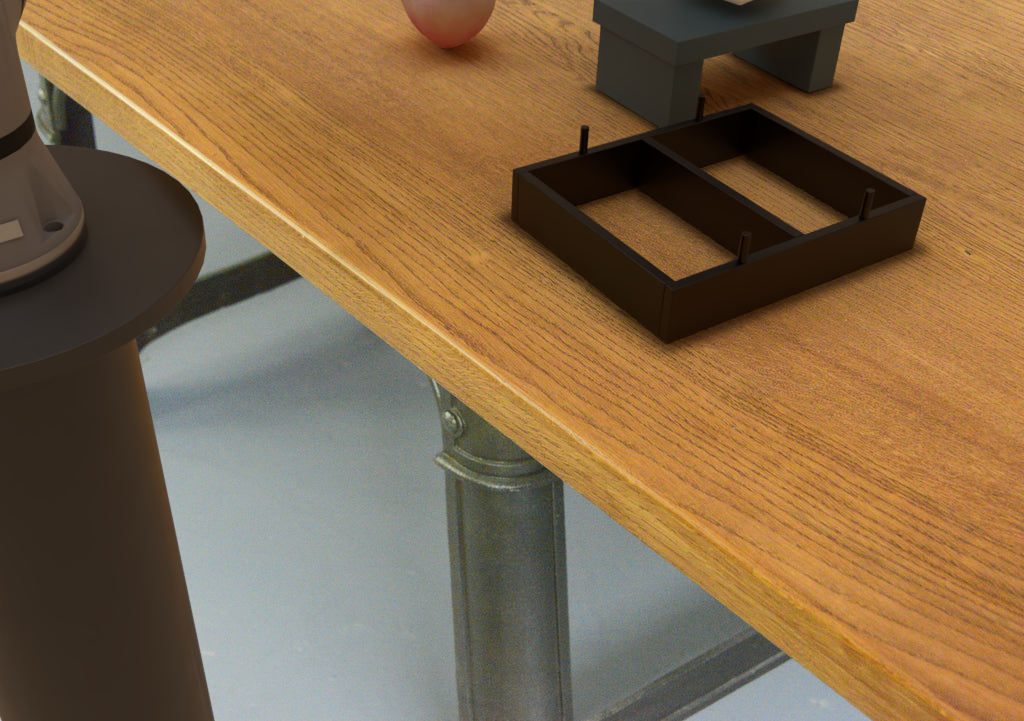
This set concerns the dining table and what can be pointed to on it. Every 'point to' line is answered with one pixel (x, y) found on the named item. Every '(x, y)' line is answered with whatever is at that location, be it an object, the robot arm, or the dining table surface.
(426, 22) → the decorative fruit
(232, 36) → the dining table surface
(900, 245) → the rack
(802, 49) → the stand
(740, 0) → the container
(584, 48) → the dining table surface
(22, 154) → the robot arm
